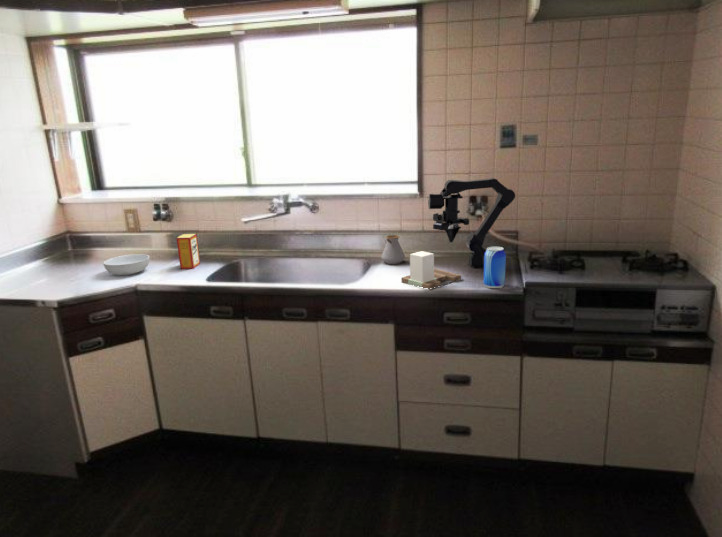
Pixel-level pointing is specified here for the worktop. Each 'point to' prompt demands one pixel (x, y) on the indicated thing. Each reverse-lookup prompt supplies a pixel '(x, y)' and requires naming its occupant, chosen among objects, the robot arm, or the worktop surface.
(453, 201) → the robot arm
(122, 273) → the serving bowl
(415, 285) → the green pad
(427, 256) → the cream block
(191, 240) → the baking soda box
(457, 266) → the worktop surface
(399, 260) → the coffee pot
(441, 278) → the walnut trap board
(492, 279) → the beer can
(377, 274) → the worktop surface
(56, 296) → the worktop surface
